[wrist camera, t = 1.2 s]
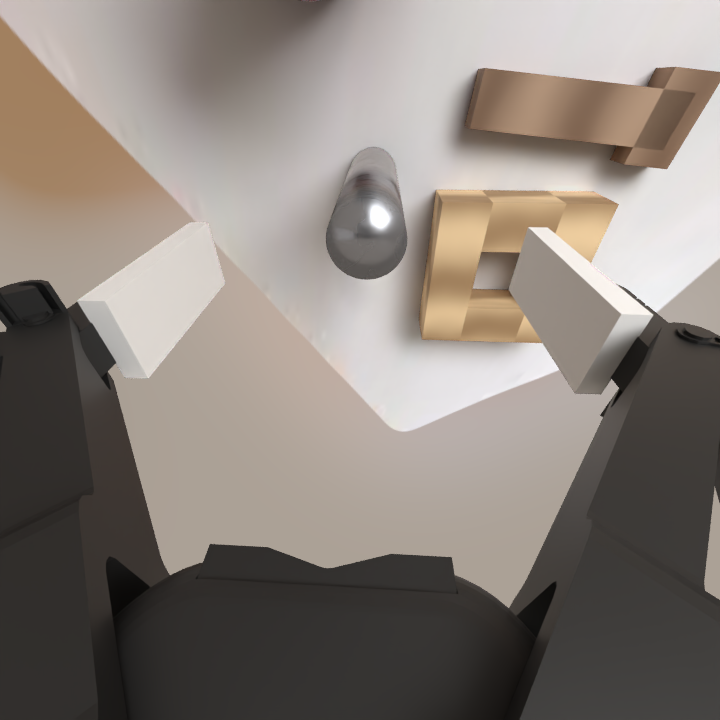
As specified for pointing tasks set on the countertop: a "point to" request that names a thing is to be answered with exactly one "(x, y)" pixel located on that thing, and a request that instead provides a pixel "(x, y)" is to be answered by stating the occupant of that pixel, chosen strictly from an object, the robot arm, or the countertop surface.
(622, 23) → the countertop surface
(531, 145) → the countertop surface
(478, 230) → the socket block
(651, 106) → the bar
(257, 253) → the countertop surface
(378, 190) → the pin
